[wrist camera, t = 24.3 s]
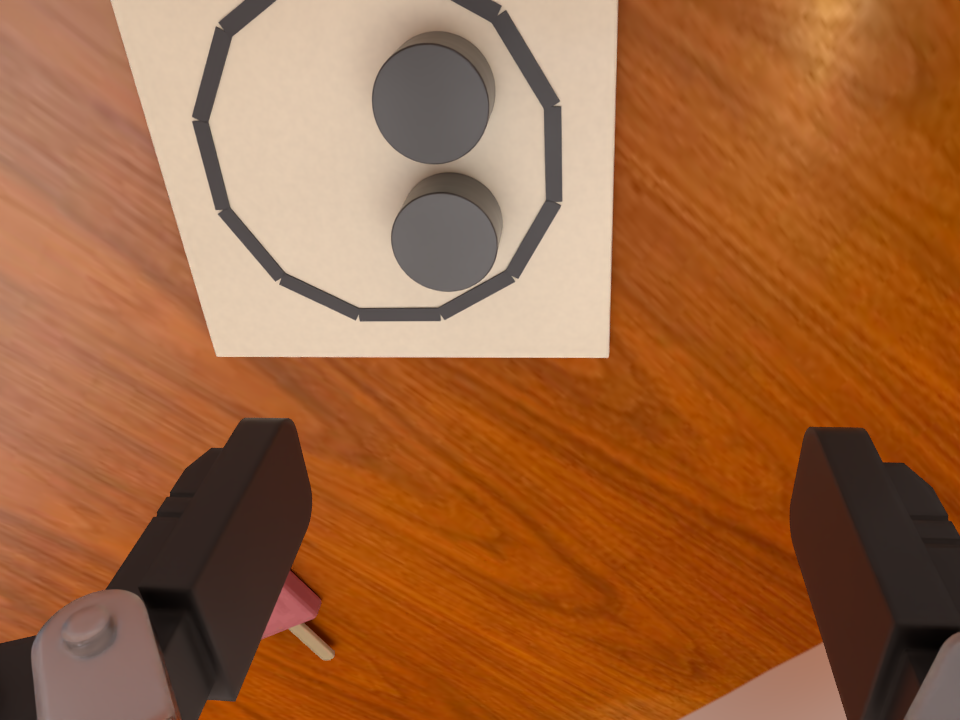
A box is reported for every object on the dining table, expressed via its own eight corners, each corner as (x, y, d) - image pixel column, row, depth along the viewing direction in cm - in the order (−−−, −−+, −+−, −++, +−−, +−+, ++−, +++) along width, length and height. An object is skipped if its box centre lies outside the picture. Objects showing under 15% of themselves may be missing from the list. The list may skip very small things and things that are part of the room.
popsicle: (299, 678, 53) (140, 539, 47) (305, 658, 54) (152, 521, 48) (358, 657, 51) (200, 509, 45) (363, 637, 52) (211, 491, 46)
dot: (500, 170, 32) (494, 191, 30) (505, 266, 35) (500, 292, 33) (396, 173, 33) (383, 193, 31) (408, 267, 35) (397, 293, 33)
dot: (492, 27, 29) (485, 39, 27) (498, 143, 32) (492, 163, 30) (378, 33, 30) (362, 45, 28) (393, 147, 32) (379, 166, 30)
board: (620, -136, 27) (622, -136, 26) (608, 347, 38) (609, 359, 37) (96, -93, 30) (80, -92, 29) (223, 347, 40) (215, 358, 39)
